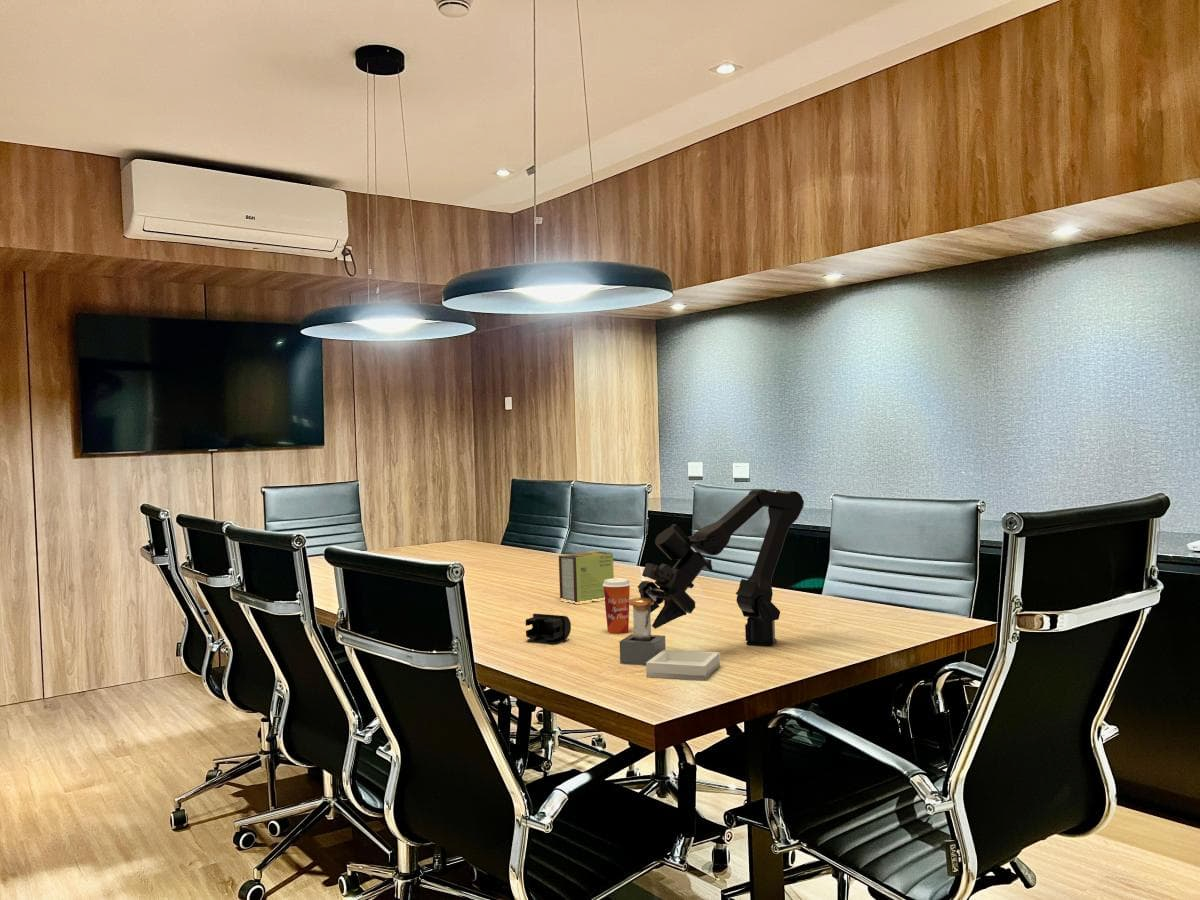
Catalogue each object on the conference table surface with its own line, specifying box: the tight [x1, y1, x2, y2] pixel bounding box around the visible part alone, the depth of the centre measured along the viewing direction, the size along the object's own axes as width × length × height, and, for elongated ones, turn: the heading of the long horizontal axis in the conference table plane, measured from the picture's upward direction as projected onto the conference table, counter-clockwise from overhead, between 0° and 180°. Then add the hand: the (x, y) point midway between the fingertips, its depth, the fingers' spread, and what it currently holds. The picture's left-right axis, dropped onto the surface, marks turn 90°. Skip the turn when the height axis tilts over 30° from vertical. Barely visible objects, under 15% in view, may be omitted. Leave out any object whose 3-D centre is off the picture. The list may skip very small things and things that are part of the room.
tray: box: [645, 649, 721, 681], centre depth 194 cm, size 13×13×3 cm
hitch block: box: [618, 633, 667, 666], centre depth 205 cm, size 8×8×5 cm
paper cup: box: [603, 577, 632, 635], centre depth 239 cm, size 8×8×14 cm
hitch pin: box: [629, 597, 654, 641], centre depth 205 cm, size 6×6×14 cm
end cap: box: [525, 613, 572, 646], centre depth 230 cm, size 10×7×7 cm
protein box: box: [558, 550, 615, 602], centre depth 293 cm, size 10×15×16 cm
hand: (644, 624), depth 206 cm, fingers open, 9 cm apart
